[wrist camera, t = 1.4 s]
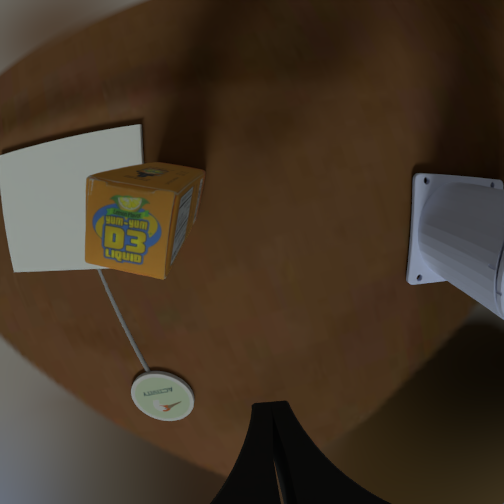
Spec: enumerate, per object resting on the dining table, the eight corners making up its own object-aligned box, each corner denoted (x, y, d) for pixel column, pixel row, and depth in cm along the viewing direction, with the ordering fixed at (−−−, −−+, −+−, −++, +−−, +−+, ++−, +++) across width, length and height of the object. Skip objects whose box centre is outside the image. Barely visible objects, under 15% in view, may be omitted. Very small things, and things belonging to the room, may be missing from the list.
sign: (124, 245, 20) (203, 415, 24) (128, 242, 21) (204, 408, 24) (64, 267, 20) (148, 424, 24) (69, 263, 21) (150, 417, 25)
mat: (142, 124, 18) (140, 124, 17) (153, 264, 20) (152, 266, 20) (1, 155, 17) (-2, 156, 17) (16, 270, 20) (14, 272, 20)
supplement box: (147, 215, 19) (75, 264, 10) (156, 161, 19) (84, 163, 9) (198, 224, 20) (164, 284, 10) (208, 170, 19) (181, 178, 9)
